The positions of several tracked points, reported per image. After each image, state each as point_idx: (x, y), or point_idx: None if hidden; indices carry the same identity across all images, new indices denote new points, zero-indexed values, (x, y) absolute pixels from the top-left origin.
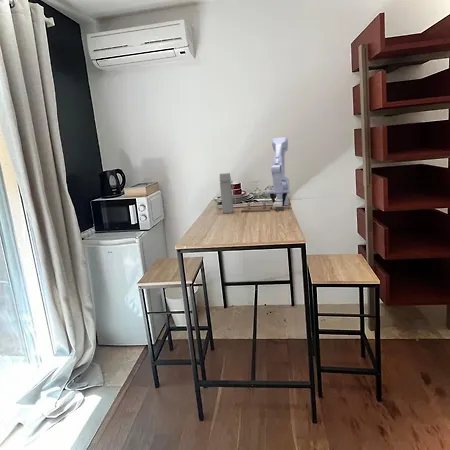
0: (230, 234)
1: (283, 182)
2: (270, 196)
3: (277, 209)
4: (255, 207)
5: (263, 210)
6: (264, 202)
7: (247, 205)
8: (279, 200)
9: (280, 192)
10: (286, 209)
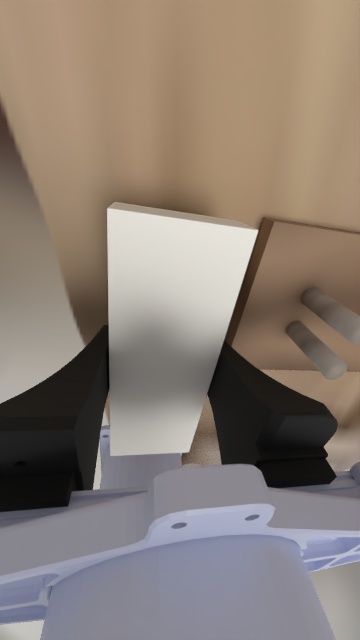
0: None
1: None
2: (322, 406)
3: None
4: (355, 359)
5: (333, 229)
6: (356, 327)
7: None
8: (157, 416)
9: (108, 508)
10: (79, 283)
